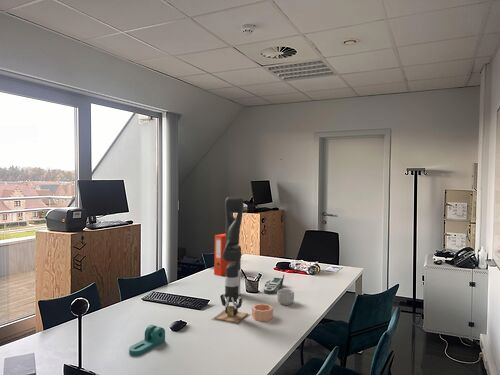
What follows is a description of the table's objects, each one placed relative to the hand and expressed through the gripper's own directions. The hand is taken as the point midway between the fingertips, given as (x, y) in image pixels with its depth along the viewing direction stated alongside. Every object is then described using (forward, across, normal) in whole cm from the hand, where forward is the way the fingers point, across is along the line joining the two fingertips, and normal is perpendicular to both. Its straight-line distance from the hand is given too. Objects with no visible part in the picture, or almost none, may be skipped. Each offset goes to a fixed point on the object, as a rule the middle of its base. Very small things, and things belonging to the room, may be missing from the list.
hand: (231, 313), depth 208 cm
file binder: (+2, -47, +82) cm, 95 cm away
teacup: (+2, +20, +37) cm, 42 cm away
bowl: (+2, +16, +7) cm, 18 cm away
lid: (+2, 0, 0) cm, 2 cm away
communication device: (+3, +2, +59) cm, 60 cm away
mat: (+2, 0, 0) cm, 2 cm away
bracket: (+3, -20, -49) cm, 53 cm away
